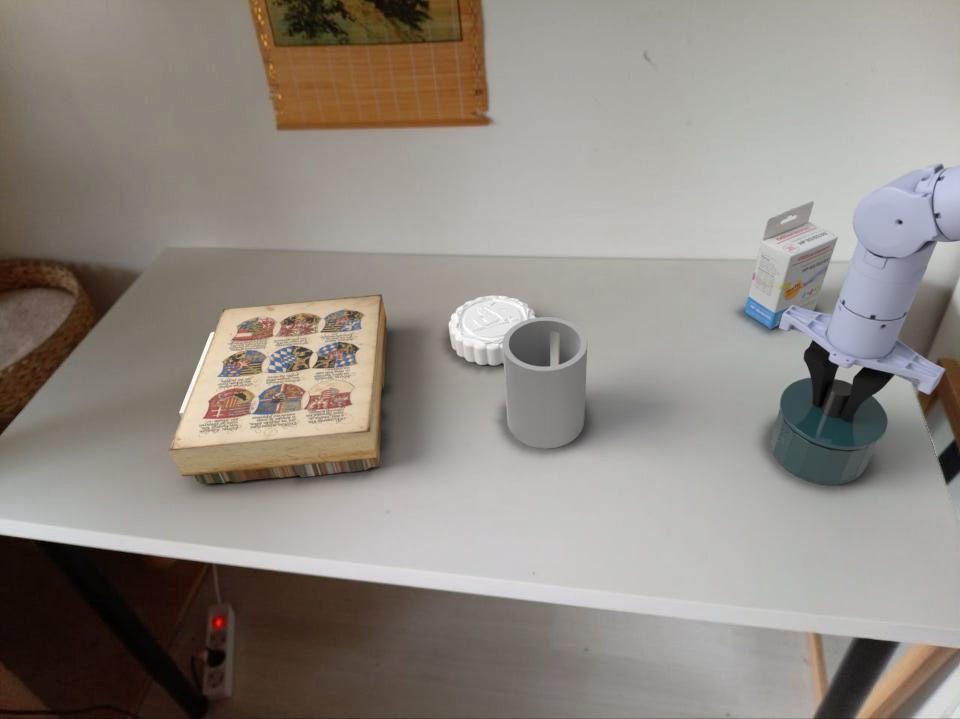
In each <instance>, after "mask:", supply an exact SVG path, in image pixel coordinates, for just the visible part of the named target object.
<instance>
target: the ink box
mask: <svg viewBox="0 0 960 719" xmlns="http://www.w3.org/2000/svg"><path fill="white" fill-rule="evenodd" d="M814 204H815V203H814V201H813V200H811V201H808V202H806V203H804V204H801V205H798V206H795V207H793V208H791V209H787V210H785V211H783V212H780V213H779V214H776V215H773V216H771V217H769V218H768V220H767V222H766V226H765V229H764V232H763V237H762V239H761V240H760V244H759V250H758V254H757V258H756V263H755V266H754V270H753V274H752V278H751V283H750V288H749V292H748V295H747V300H746V305H745V309H744V313H745V314H746V315H748V316H749V317H751V318H752V319H754V320H756V321H757V322H759V323H760V324H762V325H763V326H765V327H766V328H768V329H769V330H772V329H774V328H777V327H779V326H780V322H781V318H782V315H783V313H784V312H785V311H786V310H787V309H788V308H789V307H791V306H792V305H795V306H797V307H800V308H803V309H806V310H811V311H814V310H815V309H816V305H817V303H818V300H819V297H820V294H821V290H822V287H823V284H824V281H825V279H826V274H827V273H828V268H829V266H830V263H831V260H832V256H833V253H834V250H835V248H836V244H837V242H838V239H839V236H838V235H836V234H833V233H831V232H829V231H828V230H826V229H824V228H823V227H821V226H818V225H817V224H815V223H813V222H811V221H809V220H810V217H811V214H812V211H813V208H814ZM790 216H791V217H794V216H795V218H793V219H791V220H789V221H785V222H783V221H784V220H787V219H788V218H789V217H790ZM782 222H783V223H782Z"/></svg>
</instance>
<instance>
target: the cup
mask: <svg viewBox="0 0 960 719" xmlns="http://www.w3.org/2000/svg"><path fill="white" fill-rule="evenodd" d="M551 332H553V333H558V356H557V357H558V359H557V360H558V363H557V365H551ZM587 359H588V339H587V336H586V334H585V333H584V331H583V330H582V329H581V328H580V327H579V326H578V325H576V324H574V323H573V322H571V321H569V320H566V319H562V318H560V317H553V316H552V317H551V316H550V317H549V316H540V317H536V318H532V319H528V320H525V321H523V322H520V323H518V324H516V325H515V326H513V327H512V328H510V329H509V330H508V332H507V333H506V334H505V336H504V339H503V360H504V364H503V373H504V388H505V405H506V419H507V420H506V421H507V427H508V430H509V431H510V433H511V435H512V436H513V437H514V438H515V439H516V440H518V441H519V442H520V443H522V444H523V445H526V446H528V447H532V448H537V449H545V450H548V449H556V448H560V447H564V446H566V445H568V444H570V443H571V442H573V441H574V440H575V439H576V438H578V437H579V436H580V434H581V433H582V431H583V429H584V425H585V410H586V387H587V386H586V385H587V364H588V363H587V362H588V360H587Z"/></svg>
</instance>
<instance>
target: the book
mask: <svg viewBox="0 0 960 719" xmlns="http://www.w3.org/2000/svg"><path fill="white" fill-rule="evenodd" d="M387 338H388V328H387V314H386V309H385V304H384V298H383V294H380V293H379V294H371V295H360V296H359V295H358V296H350V297H339V298H328V299H318V300H306V301H295V302H285V303H276V304H275V303H273V304H266V305H265V304H264V305H253V306H243V307H233V308H223V309H222V311H221V314H220V317H219V320H218V322H217V325H216V327H215V329H214V331H211V332H209V335H208V339H207V341H206V344H205V345H204V349H203V351H202V353H201V356H200V358H199V361H198V364H197V366H196V368H195V372H194V373H193V377H192V378H191V381H190V383H189V384H190V385H189V386H188V389H187V392H186V394H185V397H184V399H183V402H182V404H181V407H180V409H179V412H178V414H179V417H180V421H179V423H178V426H177V429H176V431H175V433H174V436H173V438H172V441H171V444H170V447H169V449H168V452H169V455H170V456H171V458H172V460H173V462H174V464H175V465H176V467H177V469H178V471H179V473H180V475H181V476H182V477H189V476H194V478H195V479H196V482H198V483H199V484H201V485H204V484H205V485H206V484H226V483H227V482H233V483H241V482H245V481H253V480H255V481H256V480H262V479H275V478H280V479H282V478H290V477H297V476H300V478H308V477H315V476H322V475H332V474H333V475H334V474H336V473H355V472H361V471H367V470H368V469H370V468H376V467H379V466H380V458H381V457H380V456H381V451H380V450H381V442H382V441H381V439H382V425H383V423H382V422H383V421H382V420H383V416H382V411H381V401H382V391H383V389H384V388H385V377H386V376H385V374H386V371H385V369H386V351H387V342H388V341H387V340H388V339H387Z"/></svg>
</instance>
